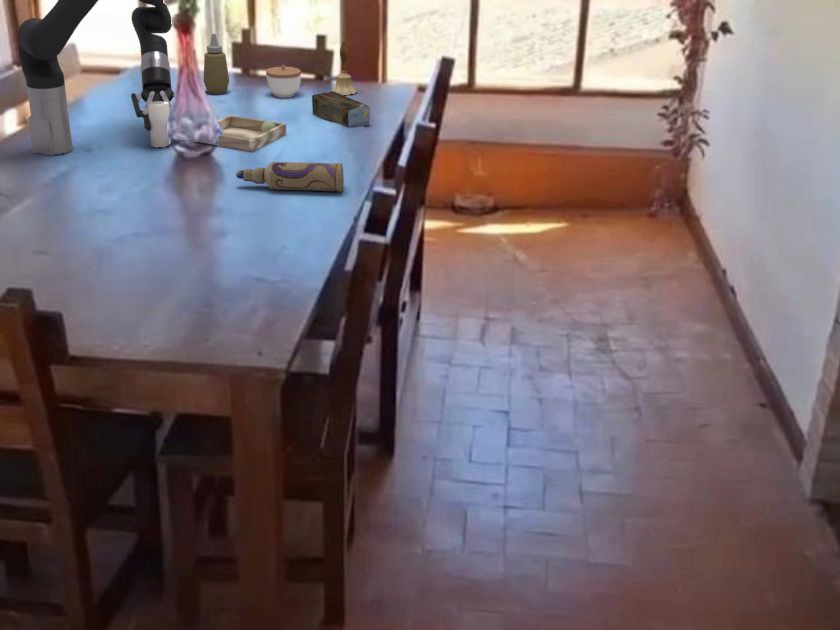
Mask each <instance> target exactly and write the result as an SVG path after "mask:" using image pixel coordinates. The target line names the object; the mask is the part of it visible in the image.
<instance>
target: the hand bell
mask: <svg viewBox="0 0 840 630" xmlns="http://www.w3.org/2000/svg"><path fill="white" fill-rule="evenodd" d="M339 56H340V60H341V61H340V62H341V70H340V71H341V72H340V73H339V74H337V76H336V81H335V82H336V83H335V84H334V87H333V88H332V90H331V91H334V92H336V93H339V94H341V95H346V96H351V95H350V94H354V93H356V92H357V93H358V90H357V89H356V88H355V87H354V84H353V81H352V76H351V75H350V74H349V73H348V70H347V65H348V64H347V63H348V59H349V58H348V57H349V49H348V44H347V41H341V45H340V48H339ZM357 93H356V94H357ZM354 95H355V94H354Z"/></svg>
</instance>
